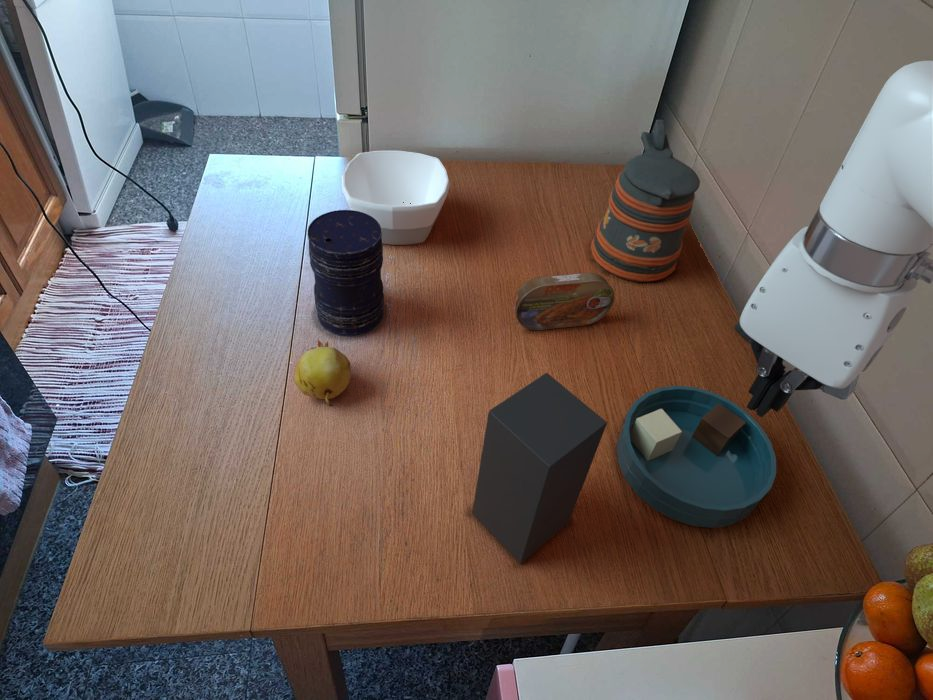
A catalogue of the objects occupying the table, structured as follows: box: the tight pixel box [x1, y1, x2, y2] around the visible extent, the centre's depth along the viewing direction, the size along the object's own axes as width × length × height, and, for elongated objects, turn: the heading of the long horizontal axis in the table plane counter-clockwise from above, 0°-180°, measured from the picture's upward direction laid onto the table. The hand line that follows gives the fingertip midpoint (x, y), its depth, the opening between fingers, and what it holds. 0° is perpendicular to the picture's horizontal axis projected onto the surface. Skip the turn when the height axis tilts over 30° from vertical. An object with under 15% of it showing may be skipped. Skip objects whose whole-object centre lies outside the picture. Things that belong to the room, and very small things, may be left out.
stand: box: [471, 372, 608, 565], centre depth 68 cm, size 8×8×19 cm
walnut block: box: [692, 403, 746, 456], centre depth 83 cm, size 4×4×4 cm
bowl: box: [340, 150, 451, 246], centre depth 109 cm, size 18×18×9 cm
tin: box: [513, 272, 615, 331], centre depth 95 cm, size 15×3×8 cm, turn 102°
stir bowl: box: [615, 385, 777, 529], centre depth 80 cm, size 18×18×4 cm
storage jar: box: [307, 209, 385, 338], centre depth 90 cm, size 10×10×15 cm
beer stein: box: [590, 119, 701, 283], centre depth 105 cm, size 19×15×20 cm
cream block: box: [630, 409, 682, 461], centre depth 81 cm, size 4×4×4 cm
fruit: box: [293, 339, 352, 408], centre depth 83 cm, size 7×7×10 cm
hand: (762, 405), depth 60 cm, fingers closed
